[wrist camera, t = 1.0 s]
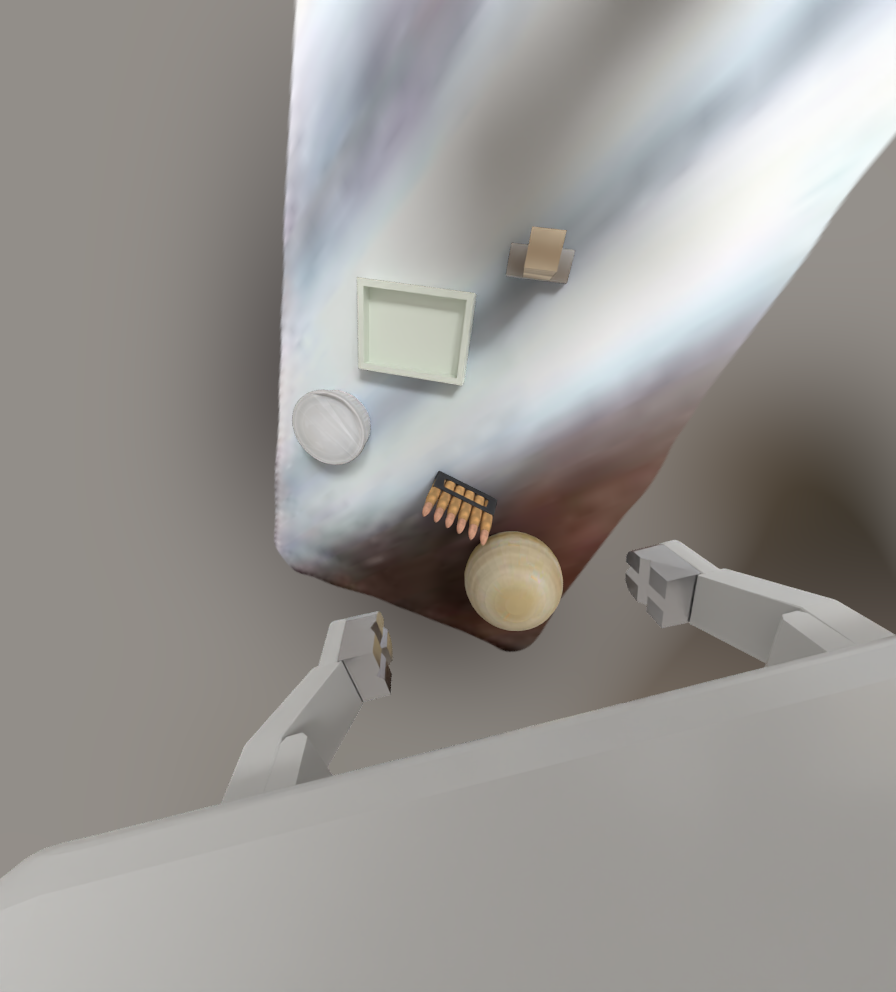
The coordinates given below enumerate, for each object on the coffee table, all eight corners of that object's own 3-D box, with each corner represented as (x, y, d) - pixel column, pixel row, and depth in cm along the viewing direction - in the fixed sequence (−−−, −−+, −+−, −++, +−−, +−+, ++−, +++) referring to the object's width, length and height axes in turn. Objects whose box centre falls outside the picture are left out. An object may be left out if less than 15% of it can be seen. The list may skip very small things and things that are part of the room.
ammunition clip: (434, 479, 54) (414, 518, 44) (438, 470, 53) (419, 507, 43) (492, 508, 55) (485, 552, 44) (497, 499, 54) (492, 543, 43)
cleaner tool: (511, 245, 38) (509, 223, 29) (573, 252, 37) (590, 232, 28) (506, 276, 39) (502, 264, 30) (565, 283, 38) (578, 274, 30)
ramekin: (385, 401, 49) (371, 410, 45) (368, 463, 55) (355, 476, 50) (316, 371, 49) (296, 377, 45) (306, 437, 55) (287, 448, 50)
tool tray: (364, 279, 42) (356, 277, 40) (476, 294, 40) (474, 292, 38) (365, 366, 47) (358, 368, 45) (464, 382, 46) (461, 385, 44)
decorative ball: (461, 567, 62) (446, 634, 49) (483, 502, 54) (473, 560, 41) (538, 591, 61) (544, 665, 48) (572, 528, 54) (589, 596, 41)
